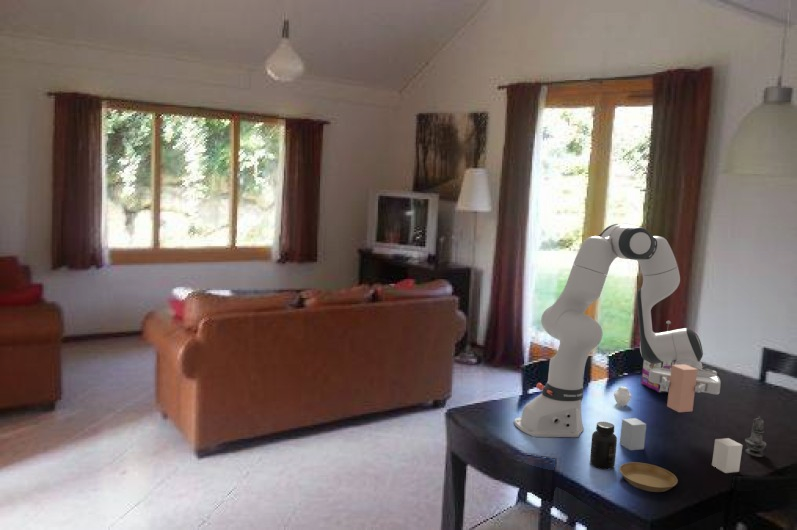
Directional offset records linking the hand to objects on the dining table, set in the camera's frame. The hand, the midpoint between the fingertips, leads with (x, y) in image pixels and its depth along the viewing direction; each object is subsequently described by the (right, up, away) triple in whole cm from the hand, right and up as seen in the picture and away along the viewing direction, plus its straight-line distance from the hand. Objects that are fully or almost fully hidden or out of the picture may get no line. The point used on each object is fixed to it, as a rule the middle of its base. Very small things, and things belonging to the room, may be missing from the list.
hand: (682, 387), depth 191 cm
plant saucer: (-17, -23, -17) cm, 34 cm away
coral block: (0, -7, +2) cm, 7 cm away
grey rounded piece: (-2, -15, +45) cm, 47 cm away
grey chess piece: (+25, -22, +7) cm, 34 cm away
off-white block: (+10, -23, -6) cm, 25 cm away
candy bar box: (+19, -13, +67) cm, 71 cm away
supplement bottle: (-26, -21, -8) cm, 35 cm away
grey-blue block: (-13, -20, +7) cm, 24 cm away
